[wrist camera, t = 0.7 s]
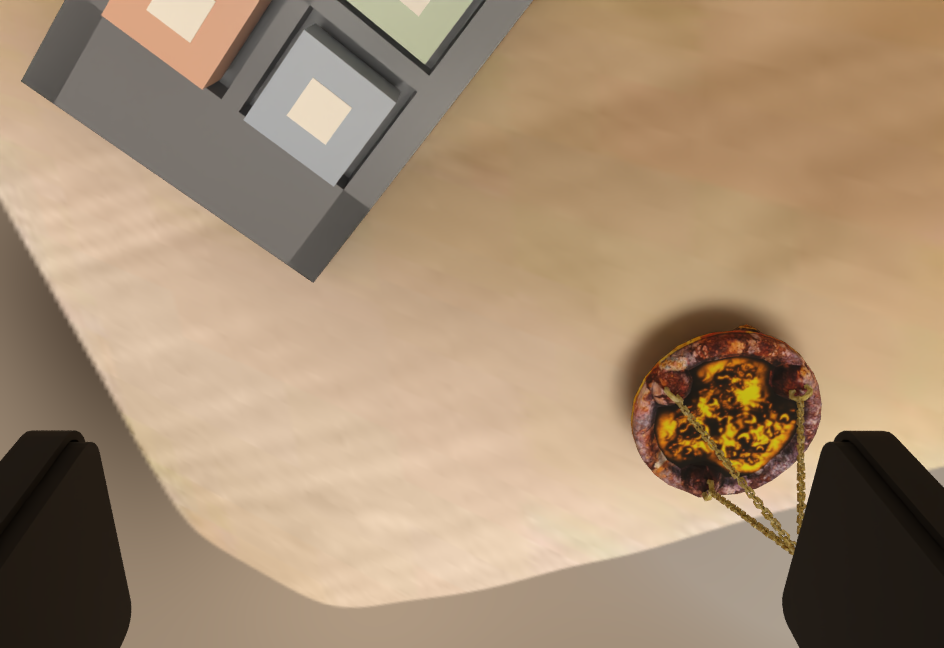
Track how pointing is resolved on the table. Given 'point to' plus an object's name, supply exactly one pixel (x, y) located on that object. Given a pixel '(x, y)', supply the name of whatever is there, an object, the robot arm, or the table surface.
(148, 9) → the key terracotta
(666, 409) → the bird feeder
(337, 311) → the table surface
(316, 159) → the key slate
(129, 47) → the keypad frame
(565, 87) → the table surface
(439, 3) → the key sage
